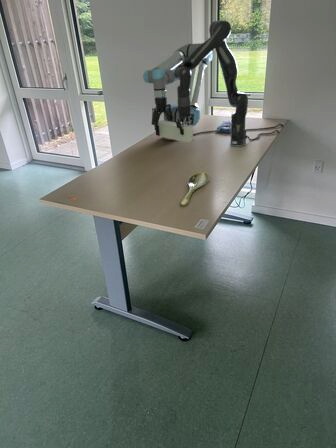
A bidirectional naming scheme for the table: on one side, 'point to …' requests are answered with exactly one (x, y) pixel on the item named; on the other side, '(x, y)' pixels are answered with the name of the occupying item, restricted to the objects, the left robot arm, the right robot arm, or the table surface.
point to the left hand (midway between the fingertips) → (163, 133)
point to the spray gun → (225, 127)
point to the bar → (175, 131)
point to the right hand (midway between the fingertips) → (185, 133)
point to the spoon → (195, 184)
